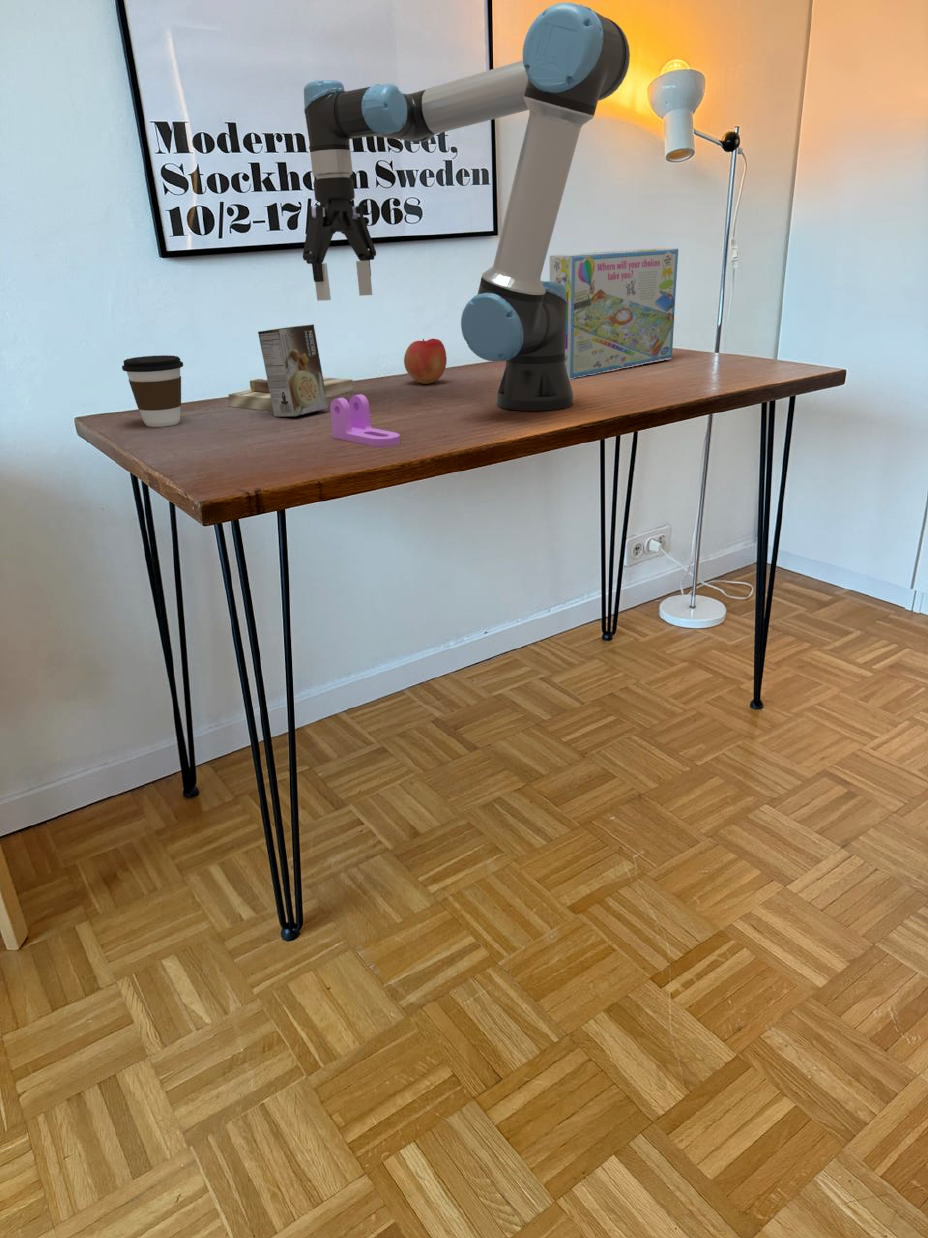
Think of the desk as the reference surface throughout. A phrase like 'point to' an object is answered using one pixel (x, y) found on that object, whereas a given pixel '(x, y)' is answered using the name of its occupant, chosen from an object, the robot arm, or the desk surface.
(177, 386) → the coffee cup
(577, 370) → the game box
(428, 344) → the apple
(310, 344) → the coffee box
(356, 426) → the bracket
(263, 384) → the chocolate brown block
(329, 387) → the plank
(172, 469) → the desk surface
